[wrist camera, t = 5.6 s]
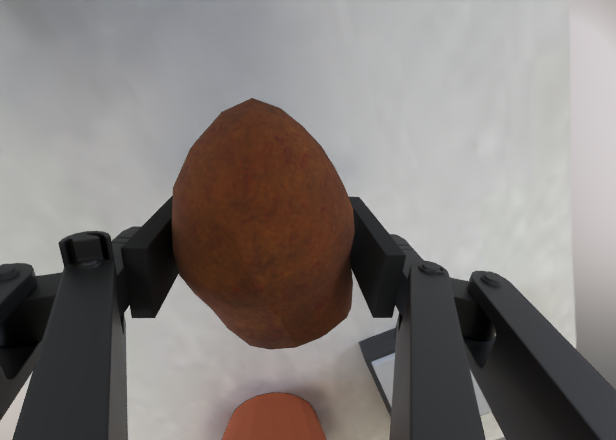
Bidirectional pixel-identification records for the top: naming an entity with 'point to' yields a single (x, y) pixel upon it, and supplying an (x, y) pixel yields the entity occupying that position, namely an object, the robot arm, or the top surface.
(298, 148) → the potato
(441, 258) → the top surface
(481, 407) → the scale
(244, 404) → the potted plant
